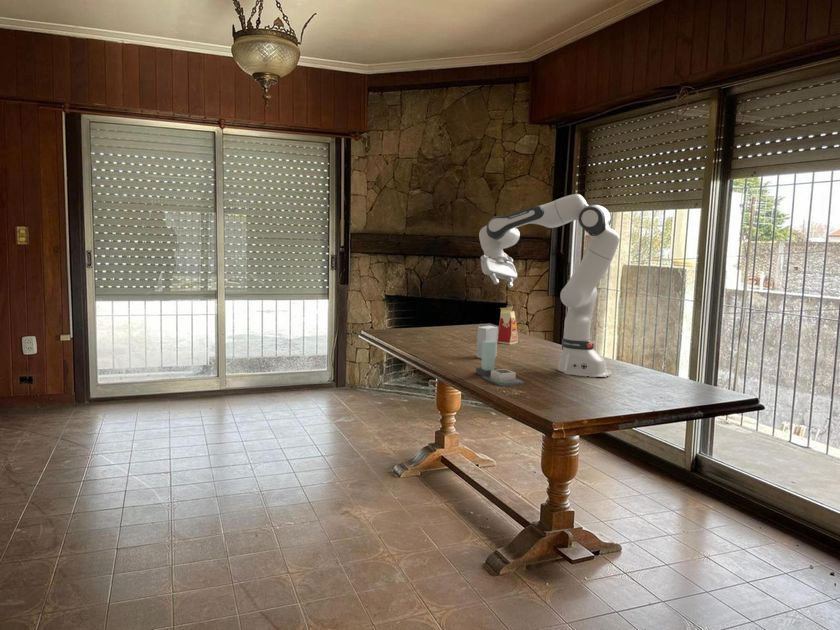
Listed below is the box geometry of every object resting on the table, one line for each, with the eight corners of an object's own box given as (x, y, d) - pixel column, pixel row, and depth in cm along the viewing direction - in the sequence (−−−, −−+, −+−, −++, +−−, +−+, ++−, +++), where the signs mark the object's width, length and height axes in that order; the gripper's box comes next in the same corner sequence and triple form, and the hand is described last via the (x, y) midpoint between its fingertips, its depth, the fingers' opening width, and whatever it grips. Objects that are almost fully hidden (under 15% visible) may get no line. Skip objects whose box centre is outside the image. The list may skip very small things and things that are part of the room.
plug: (481, 373, 266) (482, 340, 264) (489, 373, 267) (490, 340, 265) (485, 376, 262) (487, 342, 260) (494, 375, 264) (495, 342, 262)
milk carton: (517, 342, 345) (519, 305, 343) (510, 344, 338) (512, 307, 335) (502, 340, 350) (504, 304, 347) (495, 342, 342) (496, 305, 340)
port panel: (482, 378, 258) (482, 368, 257) (505, 376, 262) (505, 366, 262) (499, 386, 245) (500, 376, 245) (524, 384, 250) (524, 374, 249)
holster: (475, 373, 266) (476, 367, 266) (490, 372, 269) (490, 366, 269) (484, 377, 260) (484, 371, 260) (499, 375, 263) (499, 370, 263)
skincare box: (488, 355, 305) (489, 325, 303) (497, 357, 301) (498, 326, 299) (475, 357, 300) (476, 326, 298) (484, 359, 295) (486, 328, 294)
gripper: (484, 250, 276) (493, 278, 270) (514, 259, 290) (523, 285, 284) (474, 258, 280) (483, 285, 274) (505, 266, 294) (513, 292, 288)
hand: (503, 285), depth 279 cm, fingers open, 8 cm apart
